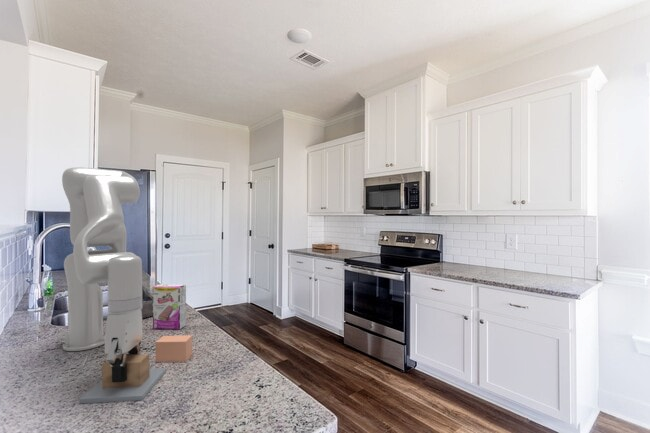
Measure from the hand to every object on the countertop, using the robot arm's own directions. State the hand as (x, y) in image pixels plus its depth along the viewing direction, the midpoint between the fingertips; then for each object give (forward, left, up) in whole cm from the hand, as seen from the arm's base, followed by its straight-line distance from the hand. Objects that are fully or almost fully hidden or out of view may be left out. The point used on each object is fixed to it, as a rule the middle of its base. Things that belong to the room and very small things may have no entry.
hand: (126, 374), depth 84 cm
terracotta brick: (+6, +16, -3) cm, 17 cm away
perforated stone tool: (-20, +60, -3) cm, 63 cm away
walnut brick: (0, 0, -2) cm, 2 cm away
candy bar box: (-6, +44, -3) cm, 45 cm away
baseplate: (0, 0, -3) cm, 3 cm away
